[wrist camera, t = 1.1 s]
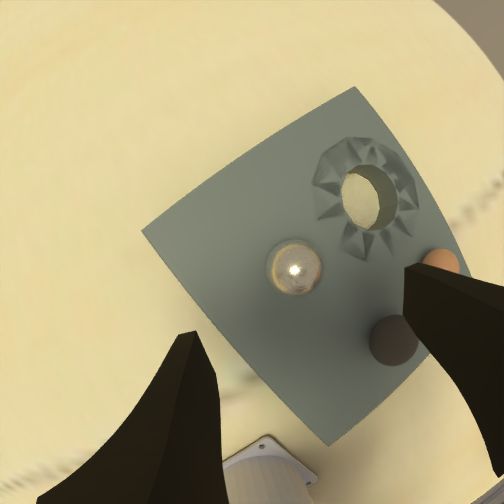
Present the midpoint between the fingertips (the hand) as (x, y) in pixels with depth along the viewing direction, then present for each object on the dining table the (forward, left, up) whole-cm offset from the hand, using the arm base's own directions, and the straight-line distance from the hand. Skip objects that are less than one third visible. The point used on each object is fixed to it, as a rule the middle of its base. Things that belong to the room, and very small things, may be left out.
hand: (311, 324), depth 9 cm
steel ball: (+2, 0, -7) cm, 7 cm away
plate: (+5, -3, -11) cm, 12 cm away
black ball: (+4, -8, -7) cm, 11 cm away
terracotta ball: (+11, -7, -7) cm, 14 cm away
